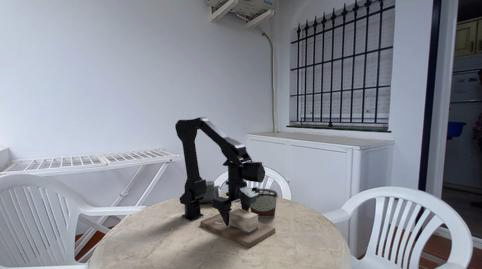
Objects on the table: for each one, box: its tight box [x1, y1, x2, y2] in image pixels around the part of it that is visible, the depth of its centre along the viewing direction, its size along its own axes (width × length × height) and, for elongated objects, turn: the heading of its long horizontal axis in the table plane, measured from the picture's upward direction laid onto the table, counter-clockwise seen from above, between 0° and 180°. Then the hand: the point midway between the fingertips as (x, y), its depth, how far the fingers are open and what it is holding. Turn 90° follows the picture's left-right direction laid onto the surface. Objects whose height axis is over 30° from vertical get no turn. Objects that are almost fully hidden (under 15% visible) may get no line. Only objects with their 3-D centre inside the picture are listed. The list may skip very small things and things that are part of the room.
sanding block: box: [230, 207, 259, 234], centre depth 84 cm, size 9×5×5 cm, turn 47°
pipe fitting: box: [199, 180, 222, 204], centre depth 114 cm, size 12×8×10 cm, turn 88°
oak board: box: [199, 211, 276, 249], centre depth 87 cm, size 24×14×2 cm, turn 48°
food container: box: [249, 188, 279, 218], centre depth 99 cm, size 12×6×10 cm, turn 84°
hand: (236, 221), depth 86 cm, fingers open, 9 cm apart
